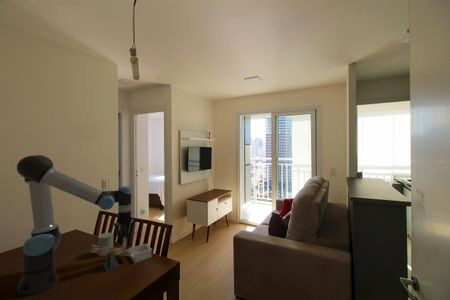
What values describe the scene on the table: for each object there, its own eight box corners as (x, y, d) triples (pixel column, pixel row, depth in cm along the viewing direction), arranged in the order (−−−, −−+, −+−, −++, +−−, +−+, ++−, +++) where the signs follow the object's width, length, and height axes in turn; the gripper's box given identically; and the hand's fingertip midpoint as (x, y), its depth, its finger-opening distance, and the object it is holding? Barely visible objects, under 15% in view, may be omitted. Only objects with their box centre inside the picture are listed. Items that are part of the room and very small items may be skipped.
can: (108, 256, 136) (108, 237, 136) (94, 255, 136) (94, 237, 136) (116, 249, 145) (116, 232, 145) (102, 249, 145) (103, 231, 145)
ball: (141, 252, 134) (145, 249, 136) (139, 250, 137) (144, 247, 139) (142, 257, 135) (147, 254, 137) (140, 255, 137) (145, 252, 139)
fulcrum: (106, 271, 118) (106, 257, 119) (102, 264, 126) (102, 250, 126) (119, 267, 123) (119, 253, 123) (115, 260, 131) (115, 247, 131)
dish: (134, 263, 128) (134, 254, 128) (128, 256, 136) (128, 248, 136) (152, 257, 135) (152, 249, 135) (145, 251, 143) (146, 243, 143)
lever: (90, 254, 116) (93, 247, 117) (87, 247, 125) (90, 240, 126) (129, 258, 129) (132, 251, 130) (123, 251, 138) (126, 244, 139)
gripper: (114, 214, 129) (114, 253, 129) (137, 210, 137) (136, 247, 137) (111, 211, 135) (111, 248, 134) (133, 208, 143) (132, 243, 143)
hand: (124, 247), depth 136 cm, fingers closed
